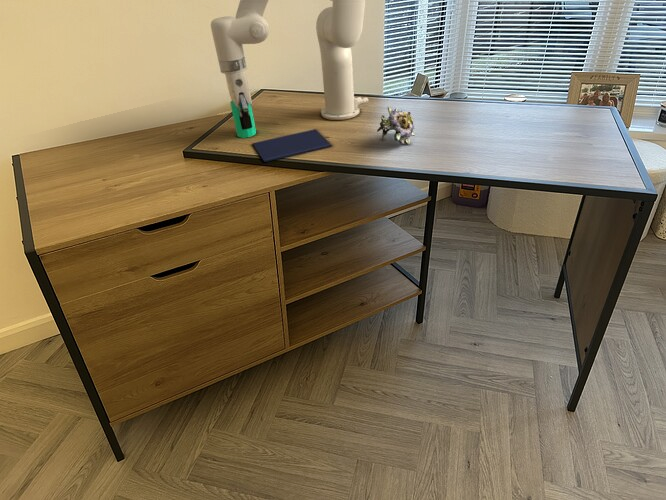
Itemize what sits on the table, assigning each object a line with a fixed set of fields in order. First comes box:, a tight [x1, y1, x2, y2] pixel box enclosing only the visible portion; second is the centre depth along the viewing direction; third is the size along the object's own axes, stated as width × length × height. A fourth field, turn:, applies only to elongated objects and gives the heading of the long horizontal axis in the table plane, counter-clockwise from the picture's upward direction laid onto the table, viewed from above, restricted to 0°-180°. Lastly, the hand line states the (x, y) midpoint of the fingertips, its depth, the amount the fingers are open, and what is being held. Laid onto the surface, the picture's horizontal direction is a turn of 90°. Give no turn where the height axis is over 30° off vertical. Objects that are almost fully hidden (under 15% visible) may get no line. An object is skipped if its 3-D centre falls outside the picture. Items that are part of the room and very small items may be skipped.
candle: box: [230, 100, 257, 139], centre depth 146 cm, size 6×6×12 cm
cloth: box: [252, 128, 333, 163], centre depth 140 cm, size 20×14×1 cm
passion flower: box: [376, 106, 415, 145], centre depth 135 cm, size 11×11×12 cm
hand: (245, 124), depth 148 cm, fingers closed on candle, 4 cm apart
